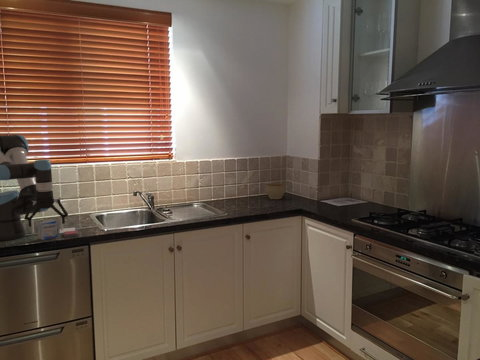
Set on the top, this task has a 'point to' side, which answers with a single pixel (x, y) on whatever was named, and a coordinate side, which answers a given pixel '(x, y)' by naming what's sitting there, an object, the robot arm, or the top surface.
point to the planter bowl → (275, 190)
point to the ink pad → (71, 233)
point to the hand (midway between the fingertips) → (47, 231)
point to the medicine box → (47, 229)
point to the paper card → (67, 229)
